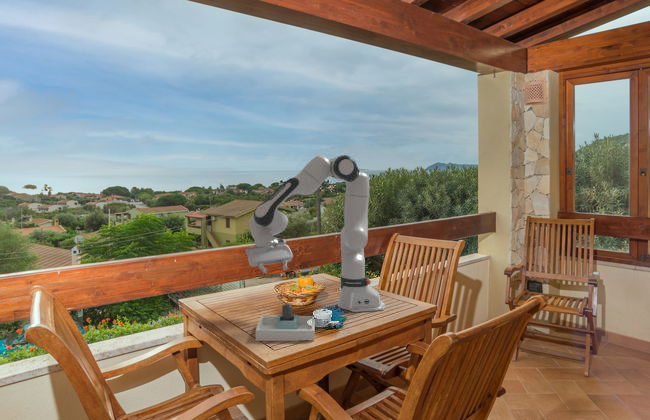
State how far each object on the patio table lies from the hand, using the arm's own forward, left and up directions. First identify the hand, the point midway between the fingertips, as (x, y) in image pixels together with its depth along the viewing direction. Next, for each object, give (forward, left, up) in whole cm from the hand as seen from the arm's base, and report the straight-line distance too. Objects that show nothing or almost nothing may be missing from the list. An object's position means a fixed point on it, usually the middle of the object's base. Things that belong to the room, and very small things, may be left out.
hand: (275, 271), depth 178 cm
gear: (-25, +10, -21) cm, 34 cm away
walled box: (-6, +18, -20) cm, 28 cm away
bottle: (-6, +15, -19) cm, 26 cm away
